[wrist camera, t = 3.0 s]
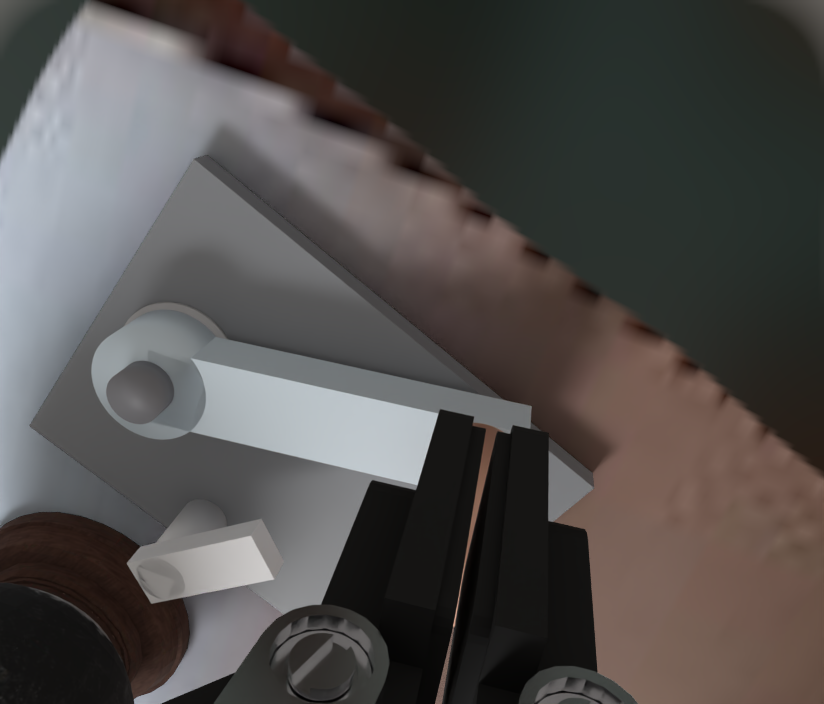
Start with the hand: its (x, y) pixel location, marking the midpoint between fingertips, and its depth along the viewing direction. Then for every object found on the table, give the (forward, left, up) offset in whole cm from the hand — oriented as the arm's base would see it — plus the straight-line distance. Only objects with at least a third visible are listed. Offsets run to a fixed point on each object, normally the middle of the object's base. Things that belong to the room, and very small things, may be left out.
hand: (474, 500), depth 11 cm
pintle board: (+1, +12, -15) cm, 19 cm away
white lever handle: (+2, +9, -13) cm, 16 cm away
